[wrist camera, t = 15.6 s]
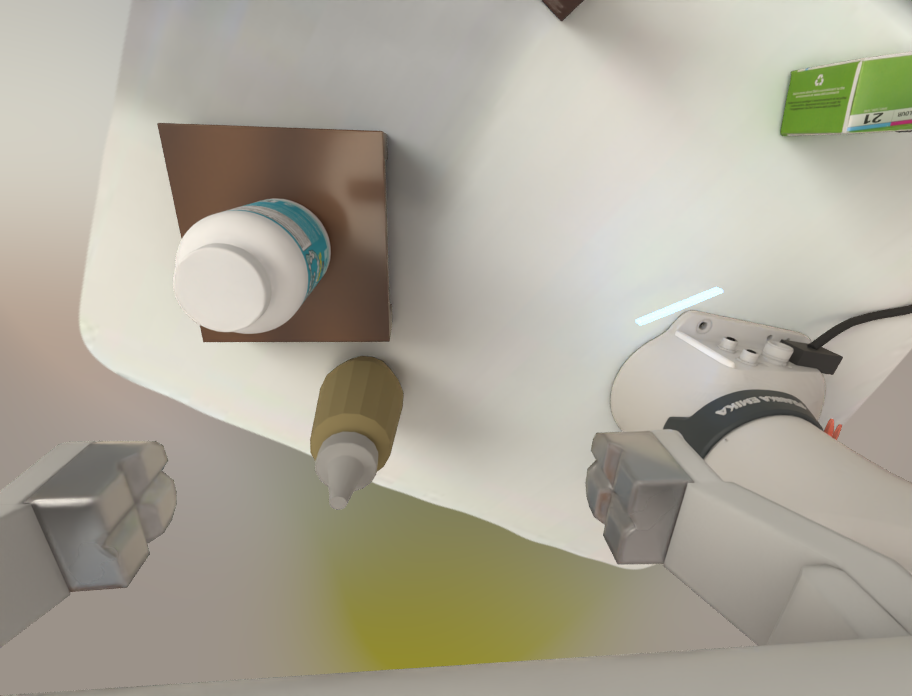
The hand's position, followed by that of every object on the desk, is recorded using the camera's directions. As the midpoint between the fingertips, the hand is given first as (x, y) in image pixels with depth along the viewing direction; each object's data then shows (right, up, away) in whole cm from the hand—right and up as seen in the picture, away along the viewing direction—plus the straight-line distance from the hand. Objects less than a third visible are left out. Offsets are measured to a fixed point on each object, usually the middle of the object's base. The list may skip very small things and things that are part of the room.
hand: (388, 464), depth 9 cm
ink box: (+35, +24, +31) cm, 53 cm away
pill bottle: (-12, +11, +27) cm, 32 cm away
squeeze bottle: (-8, -1, +38) cm, 39 cm away
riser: (-13, +13, +32) cm, 37 cm away
